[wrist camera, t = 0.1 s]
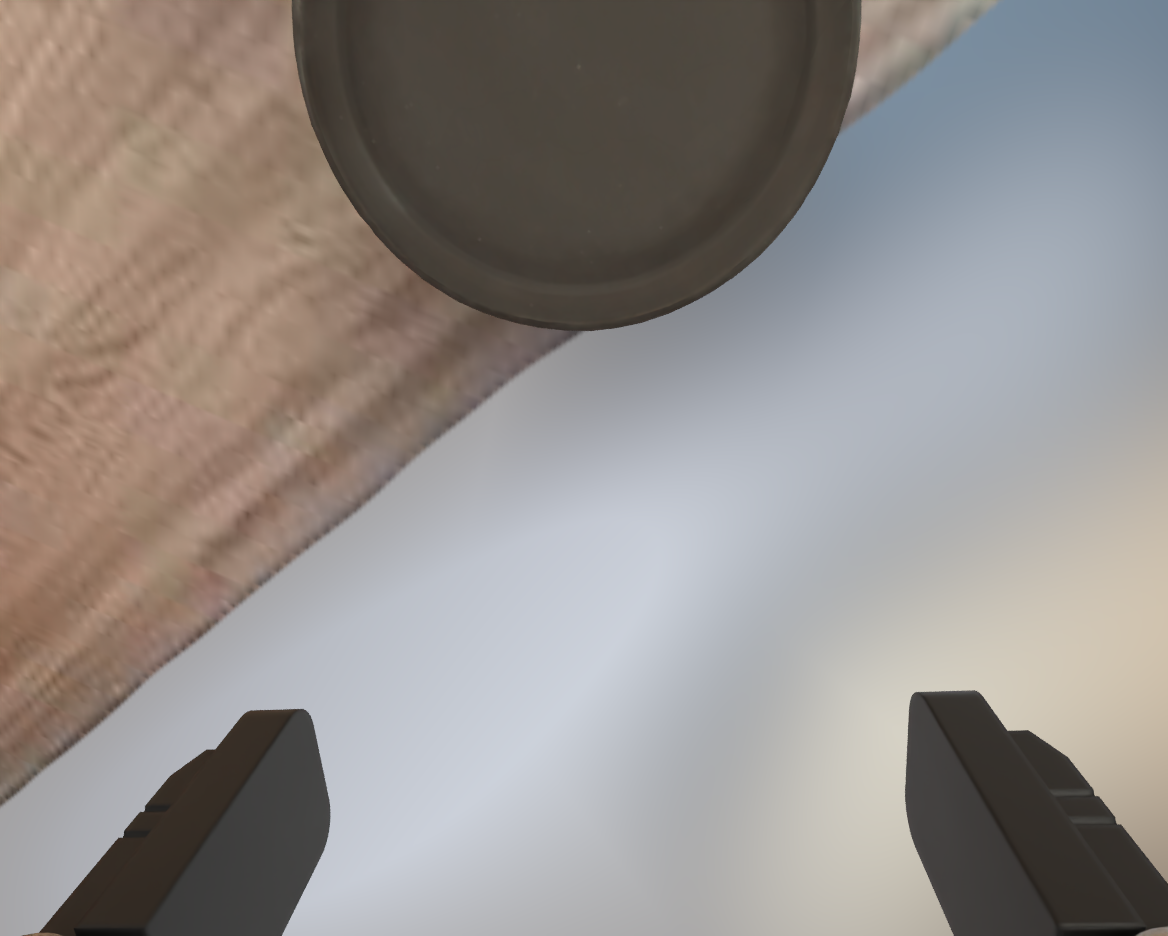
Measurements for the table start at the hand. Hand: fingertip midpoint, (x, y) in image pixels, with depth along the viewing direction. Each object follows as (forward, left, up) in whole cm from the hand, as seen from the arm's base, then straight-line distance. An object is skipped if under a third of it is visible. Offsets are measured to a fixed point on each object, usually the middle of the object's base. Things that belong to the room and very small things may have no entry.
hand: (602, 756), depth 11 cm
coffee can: (-8, -4, -23) cm, 24 cm away
